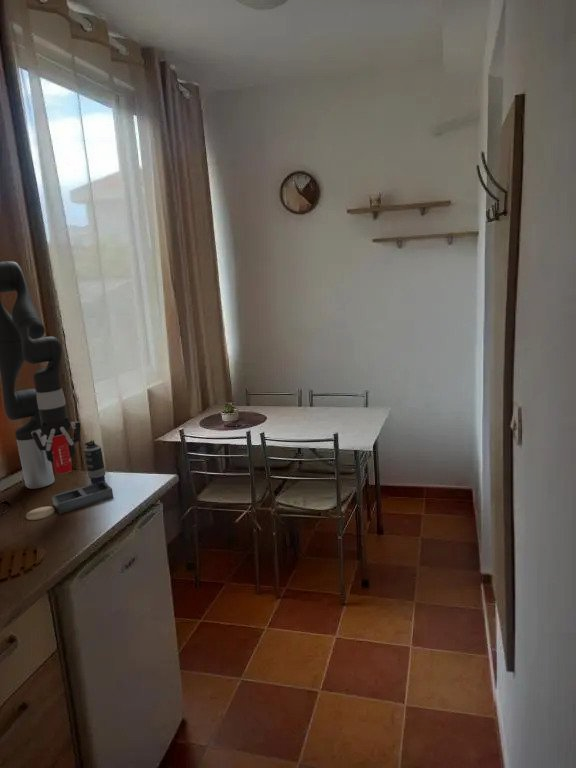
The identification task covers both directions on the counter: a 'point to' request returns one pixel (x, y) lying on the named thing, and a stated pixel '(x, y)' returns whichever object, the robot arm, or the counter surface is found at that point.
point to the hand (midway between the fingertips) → (61, 458)
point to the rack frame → (82, 497)
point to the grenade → (94, 462)
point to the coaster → (40, 513)
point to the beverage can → (61, 454)
